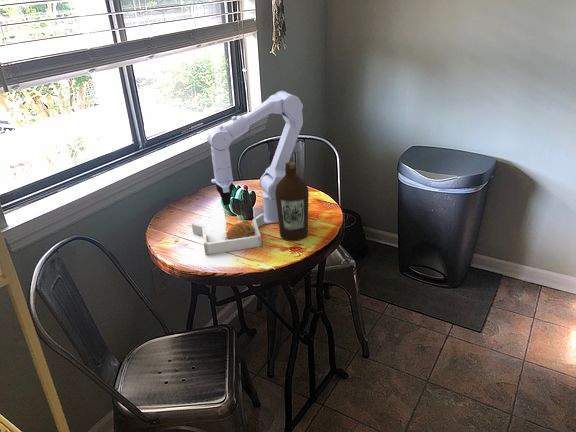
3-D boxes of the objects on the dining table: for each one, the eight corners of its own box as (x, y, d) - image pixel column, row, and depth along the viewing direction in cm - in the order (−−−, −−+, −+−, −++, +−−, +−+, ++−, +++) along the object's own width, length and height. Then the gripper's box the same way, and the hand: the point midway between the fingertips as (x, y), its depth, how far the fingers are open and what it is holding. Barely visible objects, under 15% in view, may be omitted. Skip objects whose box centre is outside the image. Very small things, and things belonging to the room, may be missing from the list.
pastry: (235, 243, 153) (234, 233, 151) (222, 237, 157) (220, 227, 155) (256, 232, 159) (254, 222, 157) (242, 227, 163) (241, 217, 161)
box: (264, 222, 165) (263, 213, 163) (272, 244, 150) (271, 234, 149) (193, 232, 161) (191, 223, 159) (194, 256, 146) (192, 246, 145)
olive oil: (277, 227, 160) (273, 158, 149) (308, 226, 161) (306, 156, 149) (278, 243, 151) (273, 170, 140) (311, 241, 151) (308, 168, 140)
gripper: (208, 160, 157) (213, 197, 163) (211, 175, 144) (216, 215, 150) (229, 157, 158) (233, 194, 164) (233, 172, 146) (238, 211, 152)
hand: (226, 204), depth 158 cm, fingers closed
